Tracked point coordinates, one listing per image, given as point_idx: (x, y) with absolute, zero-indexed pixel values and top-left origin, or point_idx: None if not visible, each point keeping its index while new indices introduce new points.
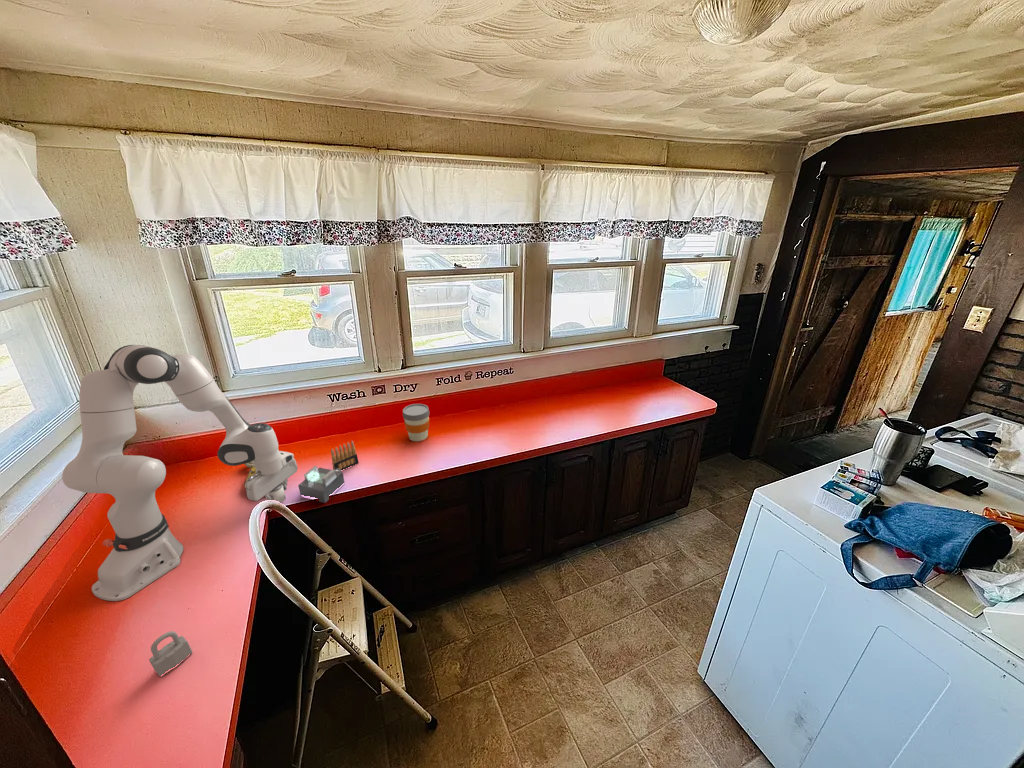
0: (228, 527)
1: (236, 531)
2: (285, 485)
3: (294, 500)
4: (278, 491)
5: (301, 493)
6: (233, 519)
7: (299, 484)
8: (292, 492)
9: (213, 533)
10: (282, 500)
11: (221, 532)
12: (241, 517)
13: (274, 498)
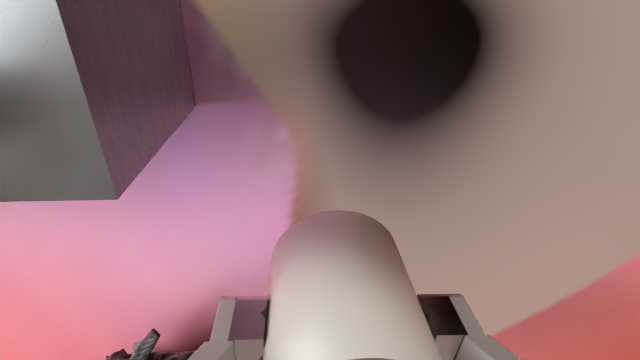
0: (584, 329)
1: (631, 274)
2: (219, 349)
3: (259, 143)
4: (406, 341)
5: (173, 108)
6: (517, 351)
7: (84, 194)
8: (175, 237)
9: (622, 351)
10: (354, 220)
11: (622, 329)
12: (501, 332)
13: (415, 293)
